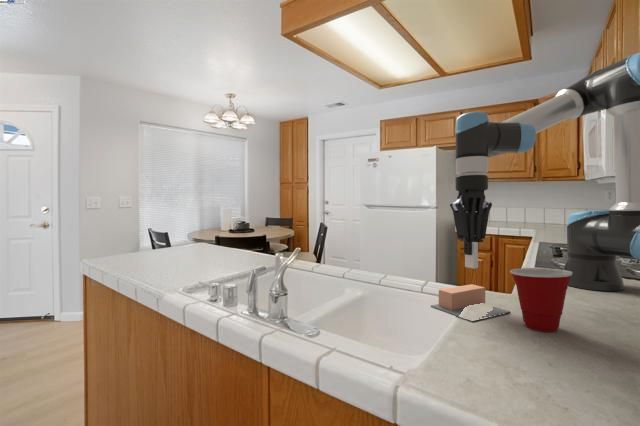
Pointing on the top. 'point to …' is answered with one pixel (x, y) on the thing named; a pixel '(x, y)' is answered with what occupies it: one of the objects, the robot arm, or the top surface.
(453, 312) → the slate mat
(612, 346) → the top surface
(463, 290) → the terracotta block
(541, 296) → the plastic cup
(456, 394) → the top surface
